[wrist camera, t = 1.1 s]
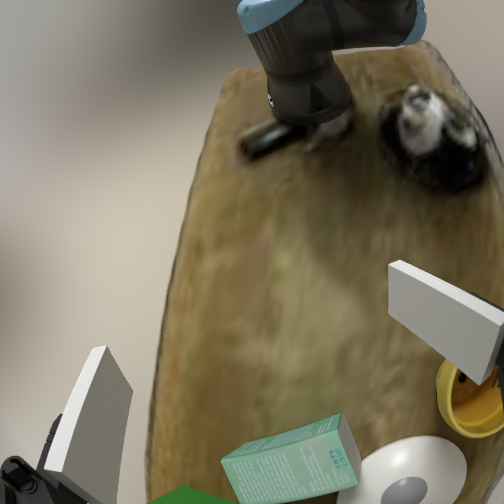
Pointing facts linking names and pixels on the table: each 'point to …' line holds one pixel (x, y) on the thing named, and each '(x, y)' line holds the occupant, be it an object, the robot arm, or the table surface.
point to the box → (295, 463)
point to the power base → (409, 473)
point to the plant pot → (469, 402)
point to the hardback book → (189, 497)
